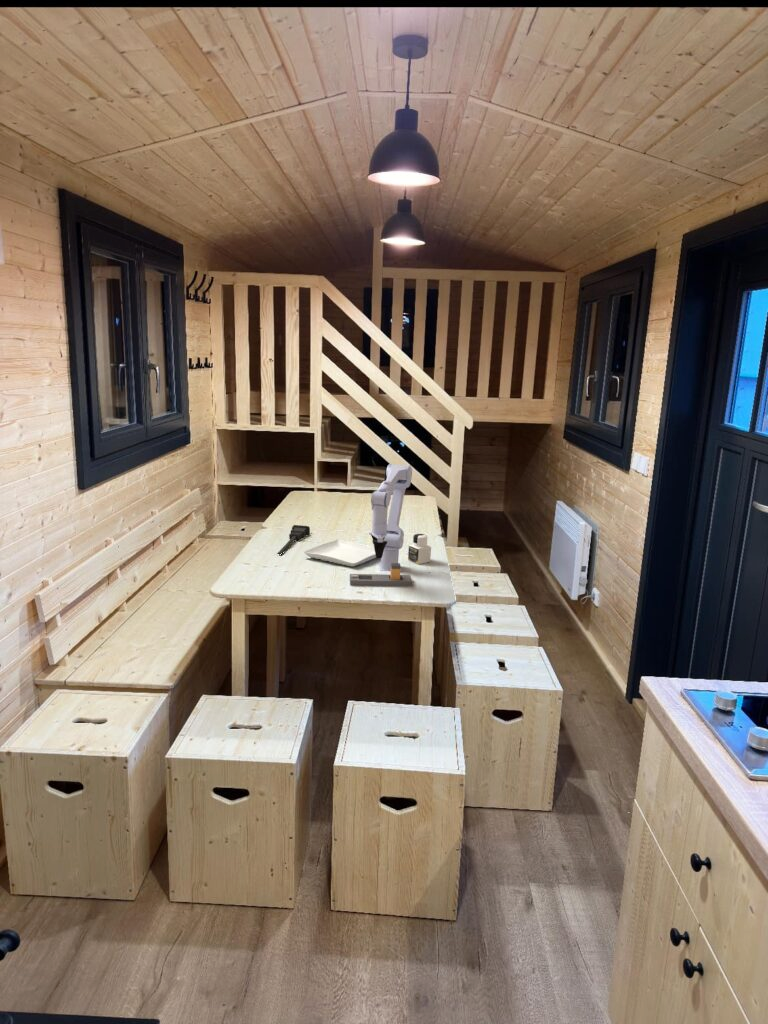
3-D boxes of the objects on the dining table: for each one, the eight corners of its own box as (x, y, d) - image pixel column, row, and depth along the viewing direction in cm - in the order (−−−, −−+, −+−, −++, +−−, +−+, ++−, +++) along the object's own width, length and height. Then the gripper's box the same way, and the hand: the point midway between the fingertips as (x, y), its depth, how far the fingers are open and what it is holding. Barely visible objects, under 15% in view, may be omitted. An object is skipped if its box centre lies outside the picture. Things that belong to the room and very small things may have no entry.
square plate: (354, 571, 293) (354, 562, 292) (301, 559, 307) (301, 550, 306) (388, 556, 316) (388, 548, 315) (337, 546, 329) (337, 538, 329)
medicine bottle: (407, 560, 311) (409, 533, 308) (420, 558, 315) (422, 531, 312) (417, 564, 305) (419, 537, 302) (430, 562, 309) (432, 535, 306)
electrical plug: (312, 533, 349) (312, 523, 348) (288, 560, 309) (288, 549, 308) (295, 531, 350) (295, 522, 349) (269, 559, 311) (269, 548, 309)
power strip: (349, 579, 281) (349, 572, 280) (409, 580, 283) (410, 573, 282) (350, 586, 273) (350, 578, 273) (411, 587, 275) (412, 579, 275)
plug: (390, 581, 280) (390, 563, 278) (398, 581, 280) (399, 563, 279) (390, 584, 277) (391, 565, 275) (399, 584, 277) (400, 565, 275)
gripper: (368, 517, 283) (367, 549, 286) (370, 526, 269) (369, 560, 272) (386, 517, 284) (384, 550, 287) (388, 526, 270) (387, 560, 273)
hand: (378, 555), depth 280 cm, fingers open, 7 cm apart
